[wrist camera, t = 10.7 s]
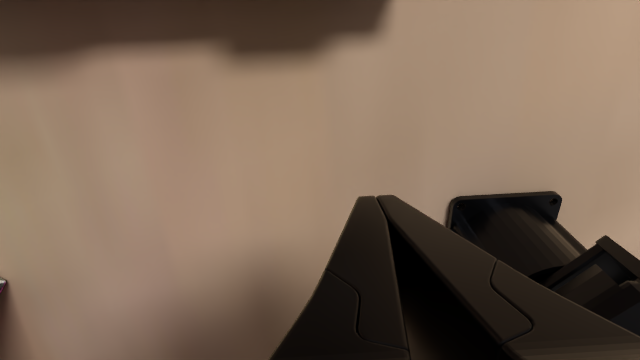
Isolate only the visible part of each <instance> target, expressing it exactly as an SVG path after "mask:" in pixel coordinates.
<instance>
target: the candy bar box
mask: <svg viewBox="0 0 640 360" xmlns="http://www.w3.org/2000/svg"><path fill="white" fill-rule="evenodd" d="M5 284H6V280H4V279H2V278H0V293H1V291H2V289H3V287H4V286H5Z"/></svg>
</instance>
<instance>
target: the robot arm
mask: <svg viewBox="0 0 640 360" xmlns="http://www.w3.org/2000/svg"><path fill="white" fill-rule="evenodd" d="M553 198H554V199H553ZM551 199H553V200H552V201H551V202H549V201H550V200H551ZM561 202H562V198H561V196H560V195H559V194H557V193H556V192H554V191H547V192H529V193H511V194H493V195H474V196H459V197H456V198H454V199H453V200H452V202H451V205H450V213H449V220H448V227H447V228H446V227H444V226H443V225H441V224H440V223H438V222H436V221H435V220H433V219H432V218H430V217H428V216H427V215H425V214H423V213H422V212H420V211H419V210H417V209H415V208H414V207H412V206H410V205H409V204H407V203H406V202H404V201H402V200H401V199H399V198H397V197H396V196H394V195H379V196H377V197H375V196H361V197H358V198H357V200H356V203H355V205H354V207H353V209H352V211H351V213H350V216H349V218H348V220H347V222H346V224H345V227H344V229H343V231H342V233H341V235H340V237H339V240H338V242H337V244H336V246H335V248H334V250H333V253H332V255H331V257H330V259H329V261H328V263H327V266H326V268H325V271H324V272H323V274H322V276H321V278H320V280H319V283H318V284H317V286H316V288H315V290H314V292H313V294H312V296H311V298H310V299H309V301H308V303H307V304H306V306H305V307H304V309H303V310H302V312H301V313H300V315H299V316H298V318H297V319H296V321H295V322H294V324H293V325H292V326H291V328H290V329H289V331H288V332H287V334H286V335H285V337H284V338H283V339H282V341H281V342H280V344H279V345H278V347H277V348H276V349H275V351H274V352H273V354H272V355H271V357H270V358H269V360H640V260H638V259H637V258H636V257H634V256H633V255H632V254H630V253H629V252H628V251H626V250H625V249H624V248H622V247H621V246H620V245H618V244H617V243H616V242H614V241H613V240H612V239H610V238H609V237H608V236H606V235H605V236H603V237H602V238H600V239H599V240H597V241H596V245H594V246H593V247H591V248H590V249H588V250H587V249H586V248H585V247H584V246H583V245H582V244H580V243H579V242H578V241H577V240H576V239H575V238H574V237H573V236H572V235H571V234H570V233H569V232H568V231H567V230H566V229H565V228H564V227H563V226H562V225H560V224H559V223H558V222H557V221H556V220H557V216H558V213H559V209H560V206H561ZM461 203H463V205H462V206H461V207H457V206H458V205H459V204H461Z"/></svg>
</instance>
